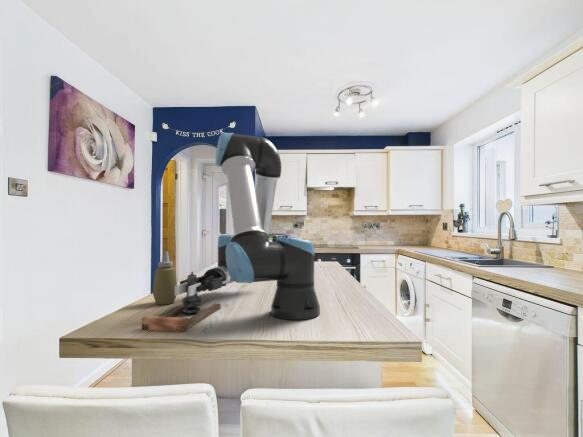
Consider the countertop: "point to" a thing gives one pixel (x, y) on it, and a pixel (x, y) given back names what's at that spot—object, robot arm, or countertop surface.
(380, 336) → the countertop surface
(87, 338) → the countertop surface
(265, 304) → the countertop surface
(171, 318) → the track
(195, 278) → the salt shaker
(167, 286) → the squeeze bottle
